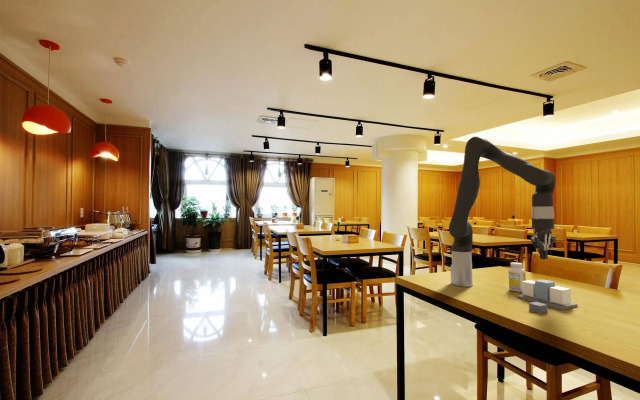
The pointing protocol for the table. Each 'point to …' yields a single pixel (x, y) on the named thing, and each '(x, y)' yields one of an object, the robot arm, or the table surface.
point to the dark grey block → (538, 307)
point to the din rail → (558, 296)
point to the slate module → (543, 289)
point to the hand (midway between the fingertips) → (543, 259)
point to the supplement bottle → (516, 276)
